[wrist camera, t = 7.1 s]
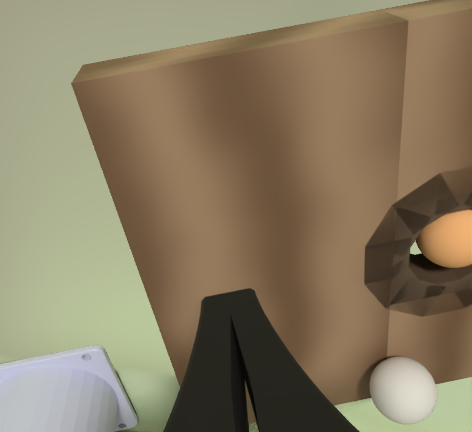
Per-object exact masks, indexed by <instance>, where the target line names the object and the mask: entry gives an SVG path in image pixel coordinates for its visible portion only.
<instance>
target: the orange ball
mask: <svg viewBox="0 0 472 432" xmlns="http://www.w3.org/2000/svg"><path fill="white" fill-rule="evenodd" d="M416 243H417V246H418V248H419V249H420V251H421V252H422V253H423V255H424V256H425V257H426V258H428V259H429V260H430V261H432V262H433V263H435V264H438V265H440V266H443V267H448V268H460V267H465V266H468V265H471V264H472V208H469V209H464V210H459V211H454V212H449V213H446V214H445V215H443V216H442V217H440V218H439V219H437V220H436V221H434V222H432V223H431V224H429V225H428V226H426V227H425V228H424V229H423V230H422V232H421V233H420V235H419V236H418V237H417V239H416Z"/></svg>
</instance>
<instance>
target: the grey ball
mask: <svg viewBox="0 0 472 432" xmlns="http://www.w3.org/2000/svg"><path fill="white" fill-rule="evenodd" d="M370 394H371V398H372V400H373V402H374V404H375V406H376V407H377V409H378V410H379V411H380V412H381V413H382V414H383V415H384V416H385V417H387V418H388V419H390V420H392V421H394V422H396V423H400V424H415V423H418V422H421V421H423V420H424V419H426V418H427V417H428V416H429V415H430V414H431V413H432V411H433V409H434V407H435V405H436V401H437V389H436V385H435V382H434V380H433V377H432V376H431V374H430V373H429V372H428V370H427V369H426V368H425V367H424V366H423V365H421V364H420V363H419V362H417V361H415V360H413V359H410V358H407V357H391V358H388V359H386V360H384V361H382V362H381V363H380V364H378V365H377V367H376V368H375V369H374V371H373V373H372V375H371V378H370Z"/></svg>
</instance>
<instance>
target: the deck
mask: <svg viewBox="0 0 472 432" xmlns="http://www.w3.org/2000/svg"><path fill="white" fill-rule="evenodd" d="M71 84H72V87H73V90H74V92H75V95H76V98H77V101H78V104H79V106H80V109H81V112H82V115H83V118H84V120H85V123H86V126H87V129H88V132H89V134H90V137H91V140H92V143H93V145H94V148H95V151H96V154H97V157H98V159H99V162H100V165H101V168H102V170H103V173H104V176H105V179H106V182H107V184H108V187H109V190H110V193H111V196H112V198H113V201H114V204H115V207H116V210H117V212H118V215H119V218H120V221H121V223H122V226H123V229H124V232H125V235H126V237H127V240H128V243H129V246H130V249H131V251H132V254H133V257H134V260H135V262H136V265H137V268H138V271H139V274H140V276H141V279H142V282H143V284H144V288H145V290H146V293H147V296H148V299H149V302H150V304H151V307H152V310H153V313H154V315H155V318H156V321H157V324H158V326H159V329H160V332H161V335H162V338H163V340H164V343H165V346H166V349H167V352H168V355H169V357H170V360H171V363H172V366H173V368H174V371H175V374H176V377H177V380H178V382H179V385H180V387H181V385H182V382H183V379H184V376H185V373H186V370H187V367H188V363H189V360H190V356H191V352H192V349H193V345H194V341H195V337H196V333H197V328H198V323H199V318H200V311H201V301H202V300H203V298H204V297H207V296H212V295H217V294H222V293H227V292H232V291H237V290H242V289H247V288H251V289H253V290H255V293H256V296H257V298H258V300H259V303H260V305H261V307H262V309H263V311H264V313H265V314H266V316H267V318H268V320H269V321H270V323H271V325H272V326H273V328H274V330H275V331H276V333H277V334H278V336H279V337H280V339H281V340H282V342H283V343H284V345H285V346H286V347H287V349H288V350H289V352H290V353H291V355H292V356H293V357H294V359H295V360H296V361H297V363H298V364H299V365H300V366H301V368H302V369H303V370H304V372H305V373H306V374H307V375H308V377H309V378H310V379H311V380H312V381H313V383H314V384H315V385H316V386H317V387H318V389H319V390H320V391H321V392H322V393H323V394H324V395H325V397H326V398H327V399H328V400H329V401H330V402H331V403H332V404H333V405H338V404H343V403H348V402H352V401H357V400H362V399H367V398H371V394H370V378H371V375H372V373H373V371H374V369H375V368H376V367H377V365H378V364H380V363H381V362H382V361H384V360H386V359H388V358H391V357H407V358H410V359H413V360H415V361H417V362H419V363H420V364H421V365H423V366H424V367H425V368H426V369H427V370H428V372H429V373H430V374H431V376H432V377H433V380H434V382H435V384H439V383H444V382H449V381H454V380H459V379H464V378H468V377H472V264H471V265H468V266H465V267H460V268H448V267H443V266H440V265H438V264H435V263H433V262H432V261H430V260H429V259H428V258H426V257H425V256H424V255H423V253H422V254H417V255H414V254H410V247H411V246H412V244H413V243H414V242H415V240H416V239H417V237H418V236H419V235H420V233H421V232H422V230H423V229H424V228H425V227H426V226H428V225H429V224H431V223H432V222H434V221H436V220H437V219H439V218H440V217H442V216H443V215H445V214H446V213H449V212H454V211H459V210H464V209H469V208H472V0H429V1H425V2H419V3H413V4H408V5H403V6H397V7H392V8H386V9H381V10H376V11H370V12H365V13H360V14H354V15H349V16H344V17H338V18H333V19H327V20H322V21H317V22H312V23H306V24H301V25H295V26H290V27H284V28H279V29H274V30H268V31H263V32H257V33H252V34H247V35H241V36H237V37H231V38H226V39H220V40H215V41H209V42H204V43H198V44H193V45H188V46H183V47H177V48H171V49H166V50H161V51H155V52H150V53H145V54H139V55H134V56H128V57H123V58H118V59H112V60H107V61H102V62H97V63H91V64H86V65H83V66H82V67H81V69H80V71H79V72H78V74H77V75H76V77H75V78H74V80H73V82H72V83H71ZM245 386H246V382H245ZM246 398H247V411H248V423H251V422H256V419H255V415H254V411H253V408H252V404H251V400H250V397H249V393H248V389H247V386H246Z"/></svg>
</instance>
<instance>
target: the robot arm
mask: <svg viewBox="0 0 472 432" xmlns="http://www.w3.org/2000/svg"><path fill="white" fill-rule="evenodd" d="M86 354H88V355H86ZM245 382H246V386H247V389H248V393H249V397H250V400H251V404H252V408H253V411H254V415H255V419H256V423H257V426H258V430H259V432H359V431H358V430H357V429H356V428H355V427H354V426H353V425H352V424H351V423H350V422H349V421H348V420H347V419H346V418H345V417H344V416H343V415H342V414H341V413H340V412H339V411H338V410H337V409H336V408H335V406H334V405H333V404H332V403H331V402H330V401H329V400H328V399H327V398H326V397H325V395H324V394H323V393H322V392H321V391H320V390H319V389H318V387H317V386H316V385H315V384H314V383H313V381H312V380H311V379H310V378H309V377H308V375H307V374H306V373H305V372H304V370H303V369H302V368H301V366H300V365H299V364H298V363H297V361H296V360H295V359H294V357H293V356H292V355H291V353H290V352H289V350H288V349H287V347H286V346H285V345H284V343H283V342H282V340H281V339H280V337H279V336H278V334H277V333H276V331H275V330H274V328H273V326H272V325H271V323H270V321H269V320H268V318H267V316H266V314H265V313H264V311H263V309H262V307H261V305H260V303H259V300H258V298H257V296H256V293H255V290H253V289H251V288H247V289H242V290H237V291H232V292H227V293H222V294H217V295H212V296H207V297H204V298H203V300H202V301H201V311H200V318H199V323H198V328H197V333H196V337H195V341H194V345H193V349H192V352H191V356H190V360H189V363H188V367H187V370H186V373H185V376H184V379H183V382H182V385H181V387H180V390H179V393H178V396H177V399H176V402H175V404H174V407H173V409H172V412H171V414H170V417H169V419H168V422H167V424H166V426H165V429H164V431H163V432H249V424H248V411H247V398H246V386H245ZM137 424H138V418H137V416H136V414H135V411H134V409H133V407H132V405H131V403H130V401H129V399H128V397H127V395H126V393H125V391H124V388H123V386H122V384H121V382H120V380H119V378H118V376H117V374H116V372H115V370H114V367H113V365H112V363H111V361H110V359H109V357H108V355H107V353H106V351H105V349H104V348H103V347H101V346H100V345H93V346H88V347H83V348H77V349H72V350H68V351H63V352H58V353H52V354H47V355H42V356H38V357H33V358H28V359H23V360H18V361H13V362H8V363H3V364H0V432H115V431H120V430H125V429H130V428H133V427H135V426H137Z"/></svg>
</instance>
